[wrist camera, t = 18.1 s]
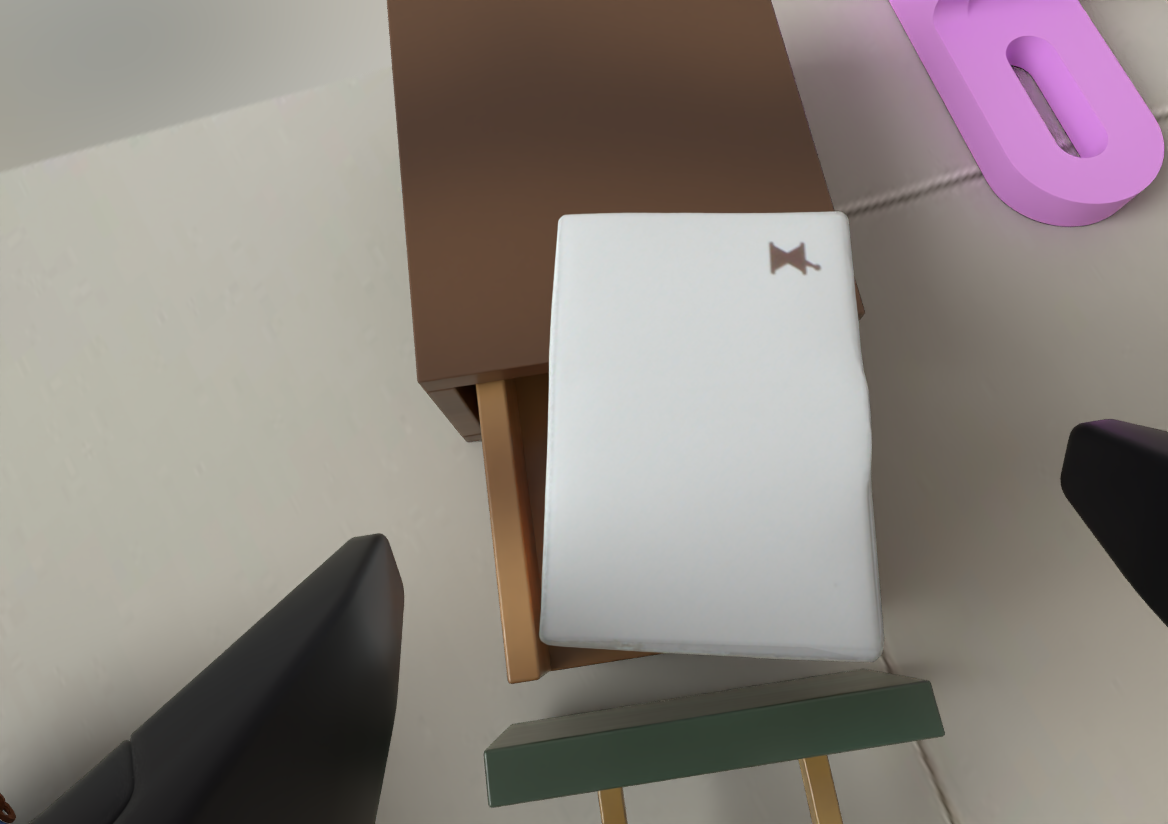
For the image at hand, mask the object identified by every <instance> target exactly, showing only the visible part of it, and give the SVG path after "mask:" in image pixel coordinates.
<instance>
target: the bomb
mask: <svg viewBox="0 0 1168 824" xmlns="http://www.w3.org/2000/svg"><path fill="white" fill-rule="evenodd" d="M3 810H4V811H5V812H6V813H7V814H8V815H5V814H4V813H3V812H2V811H3ZM15 818H16V815H15V813H14V811H13V809H12V808H11V807H10V805H9V804H8V803H6V802H5V798H4V797H3V796H2V794H1V793H0V819H1V820H2V821H4V822H6V823H13V821H14V820H15ZM1 820H0V824H6V823H4V822H2V821H1Z"/></svg>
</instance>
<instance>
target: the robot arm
mask: <svg viewBox="0 0 1168 824" xmlns="http://www.w3.org/2000/svg"><path fill="white" fill-rule="evenodd" d="M1060 480H1061V487H1062V490H1063V493H1064V495H1065V496H1066V498H1067V499H1068V501H1069V502H1070V503H1071V505H1072V506H1073V507H1074V509H1075V510H1076V512H1077V513H1078V514H1079V516H1080V517H1081V518H1082V520H1083V521H1084V522H1085V524H1086V525H1087V526H1088V528H1089V529H1090V531H1091V532H1092V533H1093V535H1094V536H1095V537H1096V539H1097V540H1098V541H1099V543H1100V544H1101V545H1102V547H1103V548H1104V549H1105V551H1106V552H1107V554H1108V555H1109V556H1110V558H1111V559H1112V560H1113V562H1114V563H1115V564H1116V566H1117V567H1118V568H1119V570H1120V571H1121V573H1122V574H1123V575H1124V577H1125V578H1126V579H1127V580H1128V582H1129V583H1130V584H1131V586H1132V587H1133V588H1134V589H1135V591H1136V592H1137V593H1138V594H1139V595H1140V597H1141V598H1142V599H1143V600H1144V601H1145V602H1146V604H1147V605H1148V606H1149V607H1150V608H1151V609H1152V610H1153V611H1154V613H1155V614H1156V615H1157V616H1158V617H1159V618H1160V619H1161V620H1162V622H1163V623H1164V624H1165V625H1166V626H1167V627H1168V432H1167V431H1163V430H1158V429H1154V428H1150V427H1145V426H1141V425H1137V424H1132V423H1128V422H1124V421H1119V420H1114V419H1104V420H1098V421H1091V422H1085V423H1080V424H1078V425H1077V426H1075V427H1074V428H1073V430H1072V431H1071V433H1070V436H1069V440H1068V444H1067V449H1066V453H1065V458H1064V463H1063V467H1062V472H1061V477H1060ZM403 611H404V588H403V583H402V580H401V577H400V574H399V571H398V568H397V565H396V562H395V559H394V556H393V553H392V550H391V547H390V544H389V541H388V540H387V538H386V537H385V536H384V535H383V534H372V535H366V536H359V537H354V538H352V539H350V540H349V541H348V542H346V543H345V544H344V545H343V546H342V547H341V548H340V549H339V550H337V551H336V552H335V553H334V554H333V555H332V556H331V557H330V558H328V559H327V560H326V561H325V562H324V563H323V564H322V565H321V566H320V567H318V568H317V569H316V570H315V571H314V572H313V573H312V574H311V575H309V576H308V577H307V578H306V579H305V580H304V581H303V582H302V583H300V584H299V585H298V586H297V587H296V588H295V589H294V590H293V591H292V592H290V593H289V594H288V595H287V596H286V597H285V598H284V599H283V600H281V601H280V602H279V603H278V604H277V605H276V606H275V607H274V608H273V609H271V610H270V611H269V612H268V613H267V614H266V615H265V616H264V617H262V618H261V619H260V620H259V621H258V622H257V623H256V624H255V625H253V626H252V627H251V628H250V629H249V630H248V631H247V632H246V633H245V634H243V635H242V636H241V637H240V638H239V639H238V640H237V641H236V642H234V643H233V644H232V645H231V646H230V647H229V648H228V649H227V650H225V651H224V652H223V653H222V654H221V655H220V656H219V657H218V658H217V659H215V660H214V661H213V662H212V663H211V664H210V665H209V666H208V667H206V668H205V669H204V670H203V671H202V672H201V673H200V674H199V675H197V676H196V677H195V678H194V679H193V680H192V681H191V682H190V683H188V684H187V685H186V686H185V687H184V688H183V689H182V690H181V691H180V692H178V693H177V694H176V695H175V696H174V697H173V698H172V699H171V700H169V701H168V702H167V703H166V704H165V705H164V706H163V707H162V708H160V709H159V710H158V711H157V712H156V713H155V714H154V715H153V716H151V717H150V718H149V719H148V720H147V721H146V722H145V723H144V724H143V725H141V726H140V727H139V728H138V729H137V730H136V731H135V732H134V733H133V734H132V735H131V738H130V740H131V741H129V740H126V741H123V742H122V743H121V744H120V745H119V746H118V747H117V748H115V749H114V750H113V751H112V752H111V753H110V754H109V755H108V756H107V757H105V758H104V759H103V760H102V761H101V762H100V763H99V764H98V765H96V766H95V767H94V768H93V769H92V770H91V771H90V772H89V773H87V774H86V775H85V776H84V777H83V778H82V779H80V780H79V781H78V782H77V783H76V784H75V785H73V786H72V787H71V788H70V789H69V790H68V791H67V792H65V793H64V794H63V795H62V796H61V797H60V798H58V799H57V800H56V801H55V802H54V803H53V804H52V805H50V806H49V807H48V808H47V809H46V810H45V811H43V812H42V813H41V814H40V815H39V816H38V817H36V818H35V819H34V820H33V821H31V822H30V823H29V824H375V820H376V815H377V810H378V804H379V799H380V794H381V788H382V783H383V778H384V773H385V767H386V762H387V757H388V752H389V746H390V741H391V736H392V731H393V725H394V719H395V713H396V706H397V695H398V682H399V668H400V654H401V640H402V625H403Z"/></svg>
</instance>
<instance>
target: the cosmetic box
mask: <svg viewBox="0 0 1168 824" xmlns="http://www.w3.org/2000/svg"><path fill="white" fill-rule="evenodd" d="M871 453H872V426H871V412H870V399H869V390H868V385H867V380H866V377H865V374H864V369H863V361H862V353H861V344H860V332H859V320H858V312H857V303H856V294H855V283H854V272H853V261H852V250H851V240H850V229H849V220H848V218H847V216H846V215H845V214H844V213H843V212H840V211H830V212H796V213H598V214H571V215H563V216H562V217H561V218H560V219H559V221H558V232H557V245H556V257H555V270H554V282H553V295H552V308H551V327H550V347H549V400H548V441H547V466H546V490H545V519H544V545H543V566H542V594H541V615H540V628H539V637H540V640H541V641H542V642H544V643H545V644H547V645H553V646H563V647H579V648H594V649H610V650H625V651H641V652H660V653H679V654H698V655H717V656H734V657H750V658H767V659H790V660H814V661H844V662H874V661H875V660H877V659H878V658H879V657H880V656H881V654H882V652H883V646H884V629H883V617H882V605H881V594H880V582H879V571H878V559H877V548H876V533H875V521H874V511H873V498H872V481H871Z"/></svg>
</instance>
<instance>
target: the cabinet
mask: <svg viewBox="0 0 1168 824" xmlns="http://www.w3.org/2000/svg"><path fill="white" fill-rule="evenodd" d="M387 9H388V20H389V34H390V46H391V59H392V71H393V83H394V96H395V108H396V121H397V133H398V145H399V158H400V170H401V183H402V195H403V208H404V220H405V232H406V245H407V257H408V270H409V282H410V294H411V307H412V319H413V332H414V344H415V356H416V369H417V381H418V383H419V384H420V385H421V387H422V388H423V389H424V390H425V391H426V392H427V394H428V395H429V396H430V398H431V399H432V400H433V401H434V402H435V404H436V405H437V406H438V407H439V409H440V410H441V411H442V412H443V414H444V415H445V416H446V417H447V419H448V420H449V421H450V422H451V424H452V425H453V426H454V427H455V428H456V430H457V431H458V432H459V433H460V435H461V436H462V437H463V438H464V439H465V440H466V442H472V441H479V440H482V437H481V428H480V418H479V409H478V400H477V391H476V384H479V383H486V382H492V381H499V380H505V379H512V378H518V377H524V376H531V375H537V374H544V373H549V347H550V327H551V308H552V295H553V282H554V270H555V257H556V245H557V232H558V221H559V219H560V218H561V217H562V216H563V215H571V214H598V213H796V212H830V211H834V207H833V204H832V201H831V197H830V194H829V191H828V187H827V184H826V181H825V178H824V174H823V171H822V168H821V164H820V161H819V158H818V154H817V151H816V148H815V144H814V141H813V138H812V134H811V131H810V128H809V125H808V121H807V118H806V115H805V111H804V108H803V105H802V101H801V98H800V95H799V91H798V88H797V85H796V81H795V78H794V75H793V71H792V68H791V65H790V62H789V58H788V55H787V52H786V48H785V45H784V42H783V38H782V35H781V32H780V28H779V25H778V22H777V18H776V15H775V12H774V8H773V5H772V2H771V0H387ZM854 283H855V294H856V303H857V312H858V320H860V319H861V317H862V316H863V315H864V314H865V310H864V307H863V304H862V300H861V297H860V294H859V290H858V287H857V284H856V280H855V277H854Z"/></svg>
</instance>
